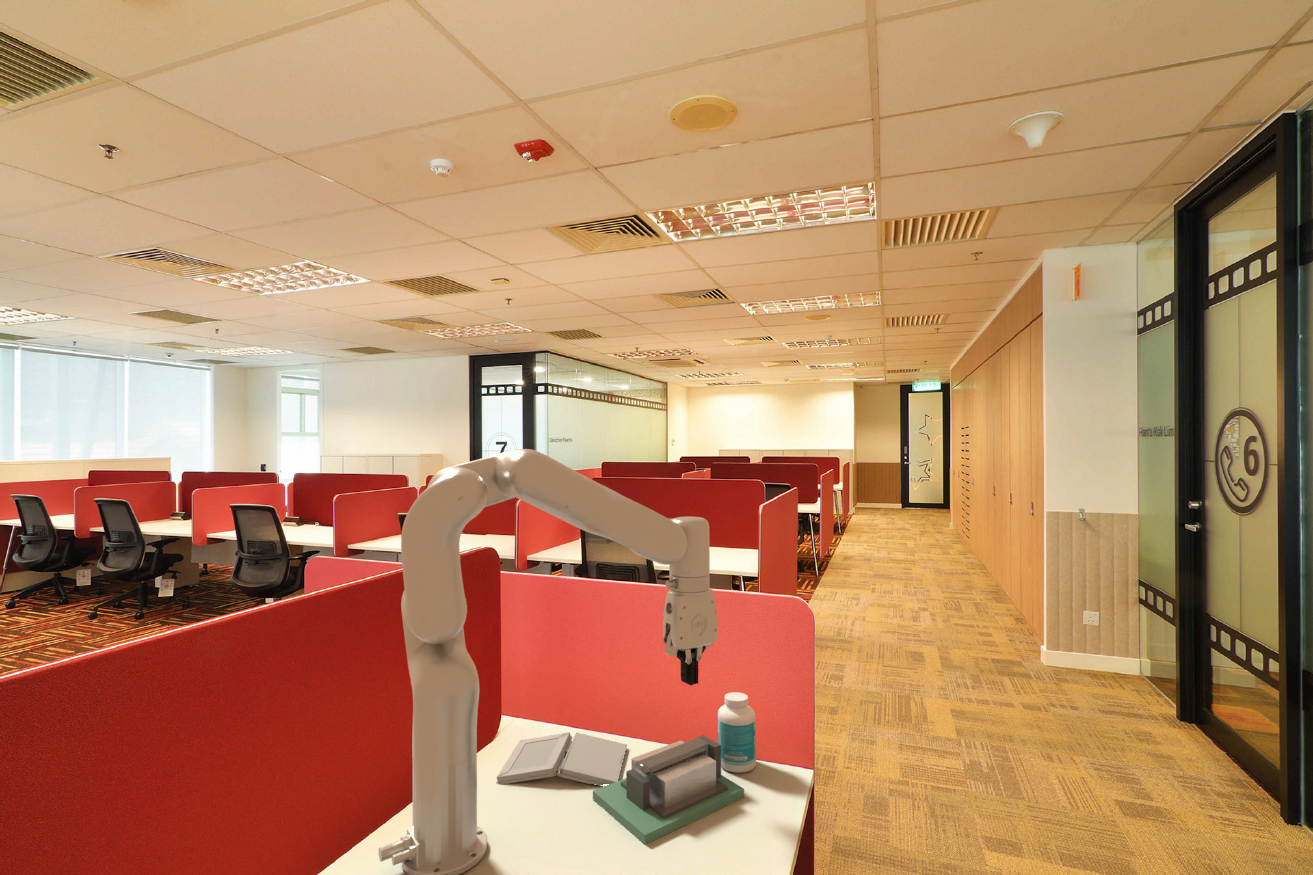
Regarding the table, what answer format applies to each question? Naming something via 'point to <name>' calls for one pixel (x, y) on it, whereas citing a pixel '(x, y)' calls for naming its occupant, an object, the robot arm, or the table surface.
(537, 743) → the gadget
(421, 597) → the robot arm
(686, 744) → the strap
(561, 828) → the table surface
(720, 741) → the pill bottle
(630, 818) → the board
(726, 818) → the table surface
